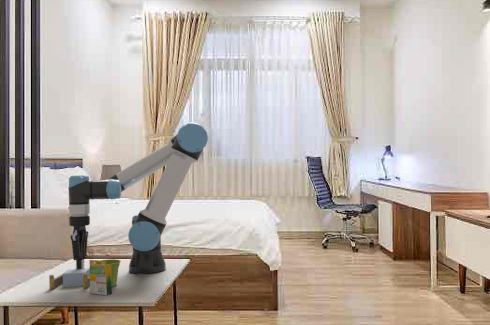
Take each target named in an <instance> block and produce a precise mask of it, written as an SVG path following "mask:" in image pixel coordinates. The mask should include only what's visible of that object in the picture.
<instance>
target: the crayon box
mask: <svg viewBox="0 0 490 325" xmlns="http://www.w3.org/2000/svg"><path fill="white" fill-rule="evenodd" d="M88 261H89V268H90V287H89V294H90V295H91V294H92V295H93V294H94V295H101V296H108V295H111V294H113V292H112V291H113V290H112V288H113V286H112V278H111V265H106V261H100V260H99V259H98V260H96V259H95V260H94V259H89V260H88ZM94 262H100V263H101V264H94Z"/></svg>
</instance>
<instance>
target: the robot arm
mask: <svg viewBox="0 0 490 325" xmlns="http://www.w3.org/2000/svg"><path fill="white" fill-rule="evenodd" d="M208 138H209V134H208V131H207V130H206V128H204V126H202V125H201V124H199V123H197V122H188V123H185V124H183V125H182V126H181V127H180V128H179V130H178V131H177V133H176V134H175V136H173V137H172V138H170V139H168V142H167V143H166V144H164V145H163V146H161V147H159V148H158V149H156V150H155V151H152V152H151V153H149V154H148V155H146V156H144V157H142V158H141V159H138V161H136V162H134V163H132V164H130V165H129V166H127V167H126V168H124V169H122V170H121V171H118V172H117V173H116V174H114V175H112V176H110V177H109V178H107V179H94V180H93V179H90V176H89V175H88V174H86V175H85V174H84V175H70V177H69V178H68V187H67V188H68V207H67V209H68V211H69V213H68V214H69V215H70V216H69V217H68V225H69V226H70V227H73V231H72V235H70V241H71V247H72V248H71V249H72V257H73V258H72V259H73V261H75V269H85V260H87V258H88V257H87V252H88V237H89V230H88V231H87V228H86V227H87V226H89V225H91V223H90V222H91V218H90V217H91V216H90V212H91V210H90V200H116V199H117V200H118V199H120V198H121V197H122V193H123V192H124V191H125V190H128V188H130V187H133V186H134V185H136V184H137V183H139V182H140V181H142V180H144V179H146V178H147V177H149V176H150V175H151V176H152V174H154V173H155V172H157V171H159V170H161V169H162V168H164V167H165V168H164V170H163V172H162V174H161V176H160V178H159V181H158V182H157V185H156V186H155V189H154V190H153V193H152V195H151V196H150V199H149V200H148V202H147V204H146V207H145V208H144V209H142V210H139V213H138V214H137V215H133V216H132V218H131V227H130V229H129V231H128V235H127V237H128V240H129V244H130V245H131V247H132V254H131V258H130V261H129V265H128V271H129V273H132V274H154V273H158V272H162V271H165V270H166V269H167V268H166V267H167V265H166V261H165V258H164V255H163V253H162V242H161V241H162V239H161V238H162V237H161V236H162V234H163V233H164V230H165V228H166V226H167V223H168V222H167V220H166V217H167V216H168V213H169V211H170V210H171V207H172V205H173V203H174V201H175V199H176V198H177V195H178V193H179V190H180V188H181V187H182V184H183V183H184V181H185V178H186V177H187V174H188V172H189V170H190V168H191V166H192V165H193V164H194V163H197V162H198V161H199V158H200V157H201V154H203V153H202V152H203V151H204V149H205V147H206V146H207V144H208Z"/></svg>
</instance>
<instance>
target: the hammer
mask: <svg viewBox="0 0 490 325" xmlns="http://www.w3.org/2000/svg"><path fill="white" fill-rule="evenodd" d="M48 278H49V281H48V284H49V290H50V291H52V290H55V289H56V288H58V287H60V286H61V285H63V273H62V274H59V275H58V276H57V277H55V275H54V274H49V276H48ZM82 287H83V290H88V289H90V276H89V277H88V274H83V286H82Z"/></svg>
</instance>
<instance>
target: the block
mask: <svg viewBox="0 0 490 325" xmlns="http://www.w3.org/2000/svg"><path fill="white" fill-rule="evenodd" d="M62 274H63V284H62V287H63V288H66V287H69V288H70V287H83V274H88V277H89V276H90V267H88V268H84V269H76V268H68V269H67V270H65V271H64V272H63V273H62Z"/></svg>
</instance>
